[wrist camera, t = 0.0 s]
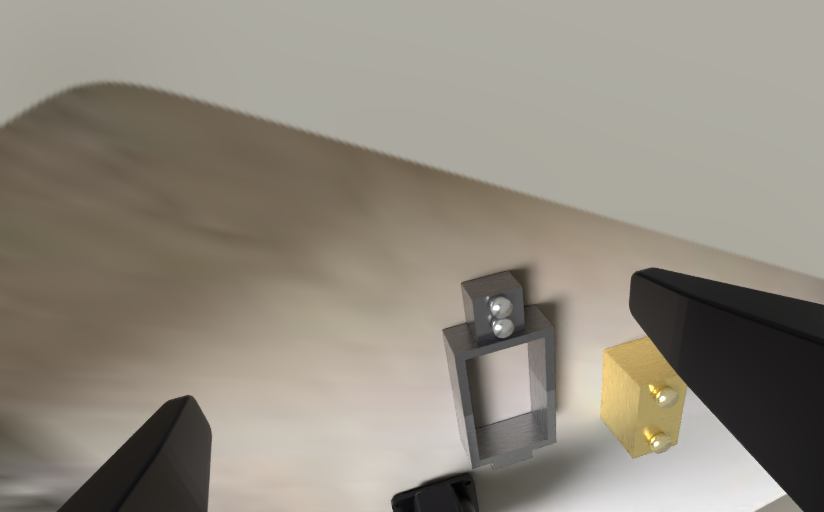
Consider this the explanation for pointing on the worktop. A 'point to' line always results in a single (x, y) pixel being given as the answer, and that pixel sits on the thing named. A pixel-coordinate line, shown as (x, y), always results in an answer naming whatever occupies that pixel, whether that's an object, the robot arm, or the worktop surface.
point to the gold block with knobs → (641, 397)
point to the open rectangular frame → (492, 331)
